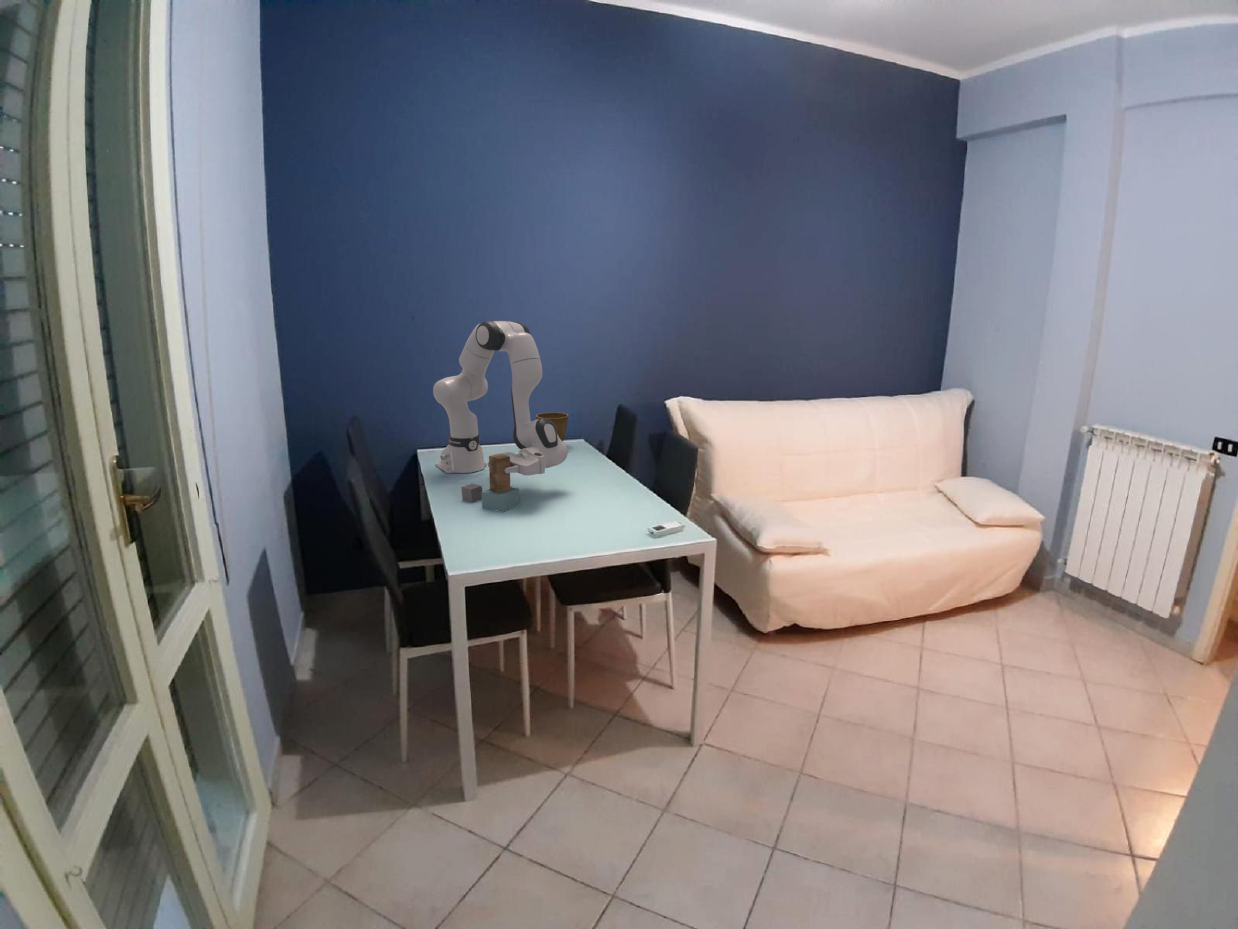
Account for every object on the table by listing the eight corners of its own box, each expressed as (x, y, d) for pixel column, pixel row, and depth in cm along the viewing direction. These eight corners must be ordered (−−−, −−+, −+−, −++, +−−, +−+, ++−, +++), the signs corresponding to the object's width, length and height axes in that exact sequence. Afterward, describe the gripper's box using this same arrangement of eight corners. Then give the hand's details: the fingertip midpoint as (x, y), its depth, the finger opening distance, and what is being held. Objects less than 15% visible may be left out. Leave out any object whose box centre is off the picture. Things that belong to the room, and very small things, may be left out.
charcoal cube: (462, 500, 218) (461, 487, 216) (473, 496, 222) (472, 483, 220) (472, 503, 215) (471, 489, 213) (482, 499, 219) (481, 485, 217)
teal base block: (482, 508, 210) (481, 492, 208) (498, 500, 217) (497, 484, 216) (503, 512, 206) (502, 496, 204) (519, 504, 214) (518, 488, 212)
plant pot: (571, 451, 283) (571, 417, 279) (539, 453, 279) (538, 419, 275) (565, 443, 297) (564, 411, 292) (535, 445, 293) (533, 412, 288)
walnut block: (489, 489, 210) (489, 455, 207) (501, 487, 213) (501, 453, 210) (498, 493, 207) (497, 458, 204) (510, 490, 210) (509, 456, 207)
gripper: (511, 446, 223) (478, 453, 213) (547, 456, 209) (514, 464, 200) (511, 462, 224) (479, 470, 215) (547, 474, 211) (515, 483, 201)
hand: (496, 467), depth 207 cm, fingers open, 8 cm apart
